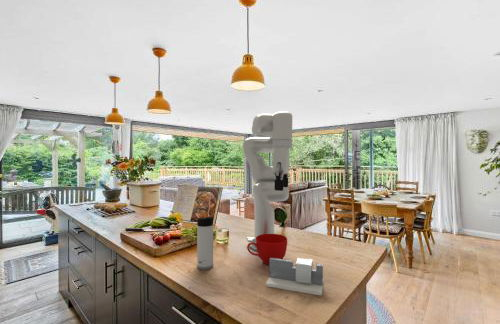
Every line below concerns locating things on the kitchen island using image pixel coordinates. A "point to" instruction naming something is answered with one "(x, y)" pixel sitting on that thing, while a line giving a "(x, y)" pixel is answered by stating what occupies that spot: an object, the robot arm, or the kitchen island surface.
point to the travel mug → (205, 243)
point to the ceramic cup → (270, 247)
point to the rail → (293, 271)
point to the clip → (304, 270)
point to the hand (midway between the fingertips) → (281, 188)
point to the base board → (295, 286)
